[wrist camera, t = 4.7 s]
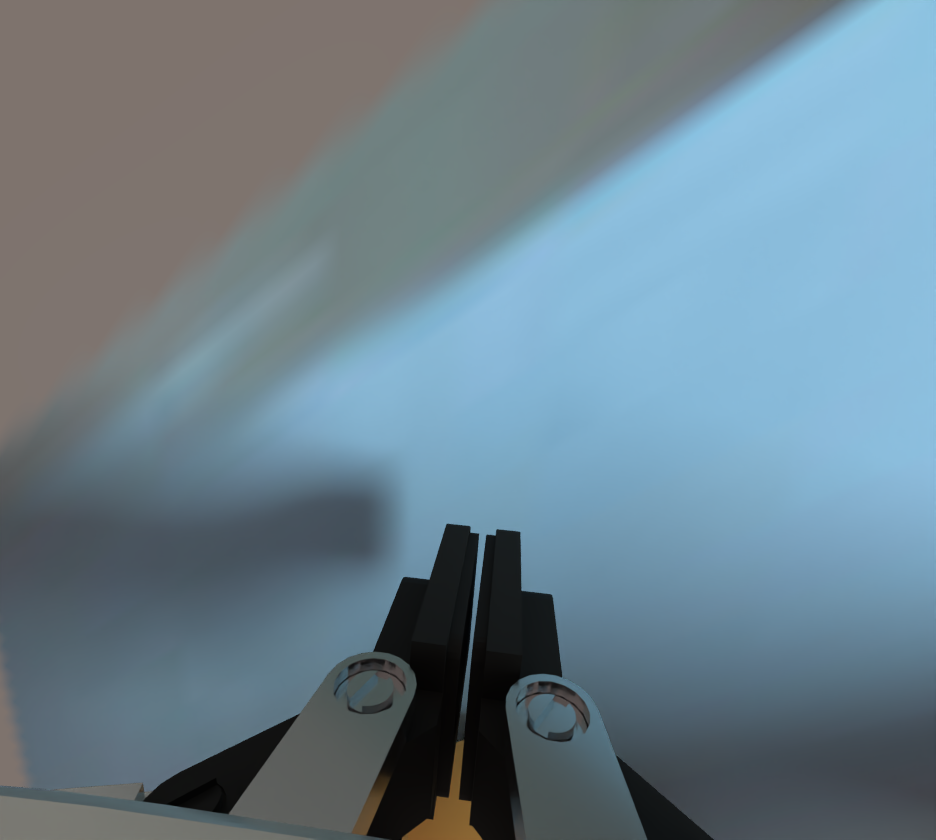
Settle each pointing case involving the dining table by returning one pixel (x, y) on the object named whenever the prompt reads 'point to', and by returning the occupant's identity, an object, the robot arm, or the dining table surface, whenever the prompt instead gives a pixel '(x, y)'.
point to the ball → (449, 812)
